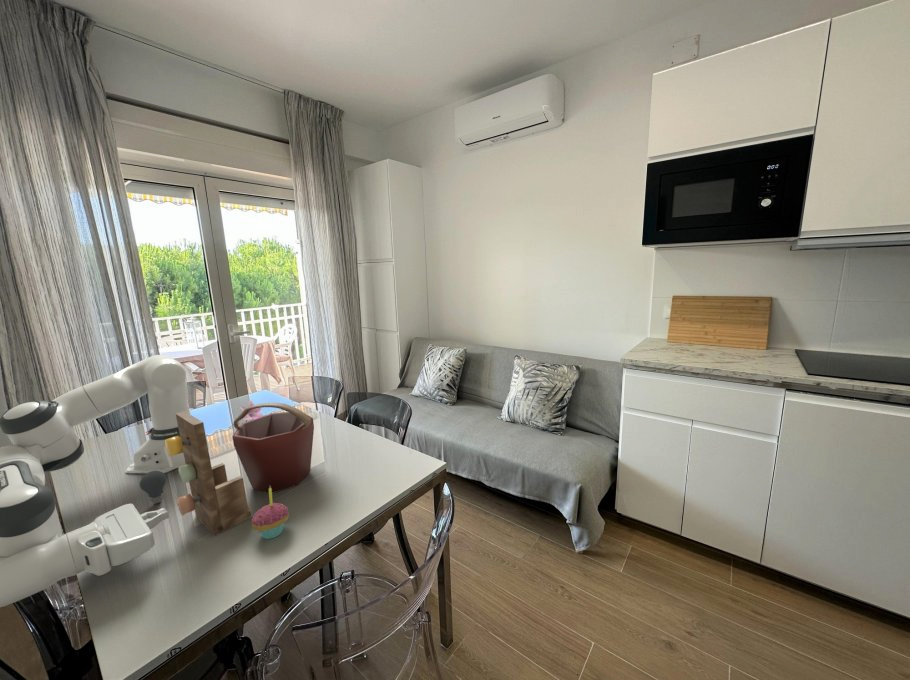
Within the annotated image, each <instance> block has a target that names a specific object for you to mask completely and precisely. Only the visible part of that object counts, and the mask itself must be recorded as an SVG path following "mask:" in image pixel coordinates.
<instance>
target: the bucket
mask: <svg viewBox="0 0 910 680" xmlns="http://www.w3.org/2000/svg"><path fill="white" fill-rule="evenodd" d="M256 408H274V409H280V410H282V411H283V412H272V413H271V412H270V413H269V414H266V415H263V416H262V417H259V418H256V419H253V420H247V422H246V421H245V422H243V423H241V422H240V421H241V420H243V418H244V417H245V416H246V415H247V414H248V413H249V412H250V410H252V409H256ZM232 425H233V427H234V429H235V432H234V433H233V434H232V442H233V446H234V449H235V451H236V454H237V455H238V458H239V460H240V463H241V465H242V468H243V469H244V472H245V473H246V476H247V478H248V482H249V484H250V485H251V488H252V490H255V491H258V492H263V493H268V494H269V489H270V487H271V489H272V494H274V493H276V492H280V491H283V490H287V489H291V488H294V487H296V486H298V485H300V483H301V482H303V480H304V479H305V478H306V477H307V476H308V475H309V474H310V473H311V466H312V456H313V455H312V454H313V445H314V444H313V442H314V431H315V424H314V418H313V417H312V416H310V415H308V414H307V413H306V412H304V411H302V410H300V409H298V408H297V407H295V406H292V405H289V404H286V403H281V402H264V403H258V404H254V406H250V407H248V406H247V407H246V409H245V410H244V411H243V410H242V412H241V413H240V414H239V415H238V416H237V417H236V418H235V419H234V420H233V423H232Z"/></svg>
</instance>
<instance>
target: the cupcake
mask: <svg viewBox="0 0 910 680" xmlns="http://www.w3.org/2000/svg"><path fill="white" fill-rule="evenodd" d="M268 497H269V498H268V499H269V504H266V505H263V506H262V507H260V508H258V510H257V511H255V513H254V514H253V516H252V517H251V526H252V527H251V528H252V530H254V531H257V532H259V534H260V535H261V536H262V538H263V539H266V540H269V539H274V538H276V537H278V536H279V535H281V534H282V532H283V531H284V526H285V523H286V521H287V520H288V519H289V516H290V515H289V514H290V513H289V510H288V509H289V507H288V506H286V505H285V504H283V503H280V502H273V493H272V489H271V487H270V489H269V493H268Z"/></svg>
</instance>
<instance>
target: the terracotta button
mask: <svg viewBox="0 0 910 680" xmlns="http://www.w3.org/2000/svg"><path fill="white" fill-rule="evenodd" d="M200 500H201V497H200V496H198V497H196V498H192V494H191V493H187V494H185V495H183V496H179V497H178V498H176V504H177V507H178V511H179V512H180V514H181V516H184V515H186V514H189V513H191V512H193V511H195V505H194V503H196V502H198V501H200Z"/></svg>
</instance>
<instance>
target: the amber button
mask: <svg viewBox="0 0 910 680" xmlns="http://www.w3.org/2000/svg"><path fill="white" fill-rule="evenodd" d="M187 444H190V440H189V439H187V440H184V441H181V439H180V437H179V436H175V437H172V438H169V439H166V440H165V446H166V450H167V453H168V455H169V456H170V457H171V456H174V455H177V454H180V453H183V446H184V445H187Z"/></svg>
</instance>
